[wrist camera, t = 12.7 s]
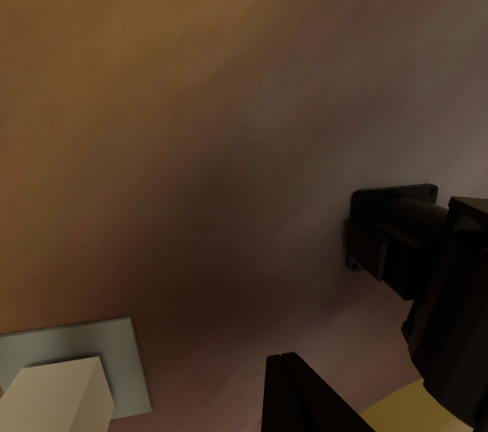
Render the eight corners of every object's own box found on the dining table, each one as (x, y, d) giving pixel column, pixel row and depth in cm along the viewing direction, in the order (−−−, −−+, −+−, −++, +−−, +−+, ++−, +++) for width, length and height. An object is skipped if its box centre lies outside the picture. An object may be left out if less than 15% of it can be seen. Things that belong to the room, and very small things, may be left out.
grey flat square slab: (130, 316, 21) (100, 409, 14) (152, 408, 24) (136, 516, 18) (-19, 337, 19) (-128, 451, 13) (27, 431, 23) (-40, 558, 16)
